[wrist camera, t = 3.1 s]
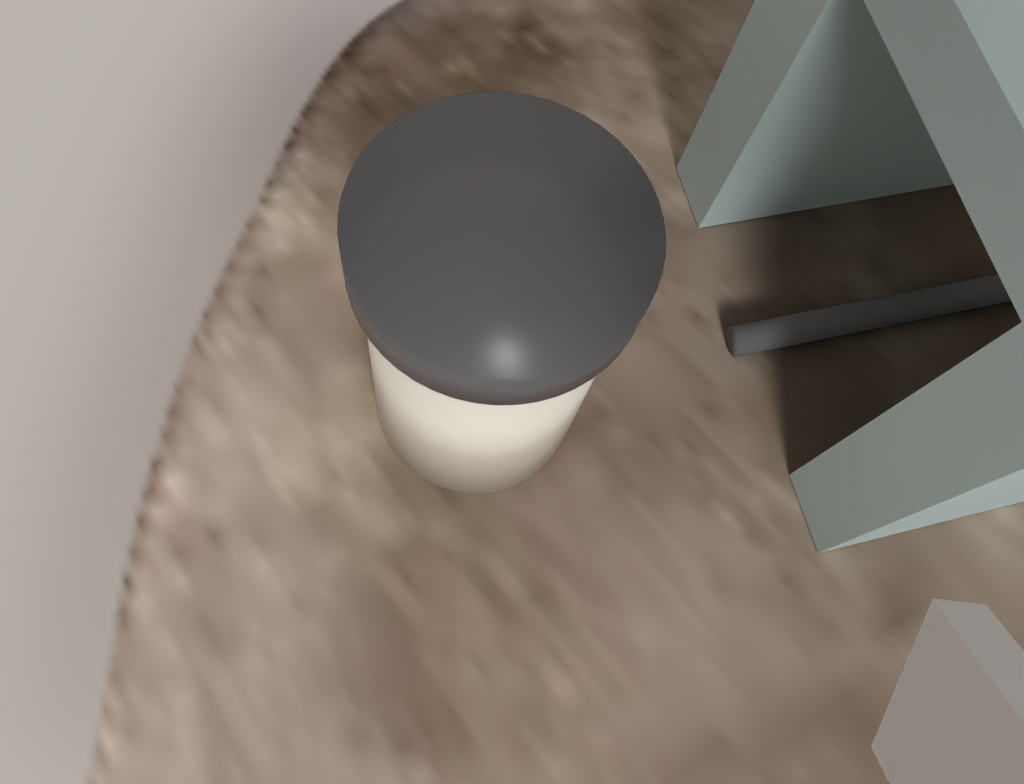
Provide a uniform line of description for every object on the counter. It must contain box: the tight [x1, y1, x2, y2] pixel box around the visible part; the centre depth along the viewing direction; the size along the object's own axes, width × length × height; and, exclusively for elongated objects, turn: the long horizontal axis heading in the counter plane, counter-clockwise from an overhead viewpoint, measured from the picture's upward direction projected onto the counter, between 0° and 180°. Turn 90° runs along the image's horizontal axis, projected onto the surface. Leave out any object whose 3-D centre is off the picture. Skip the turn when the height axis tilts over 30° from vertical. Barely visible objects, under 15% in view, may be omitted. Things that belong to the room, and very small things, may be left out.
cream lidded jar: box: [337, 92, 666, 493], centre depth 22 cm, size 7×7×10 cm
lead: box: [726, 274, 1011, 357], centre depth 29 cm, size 17×1×1 cm, turn 104°
